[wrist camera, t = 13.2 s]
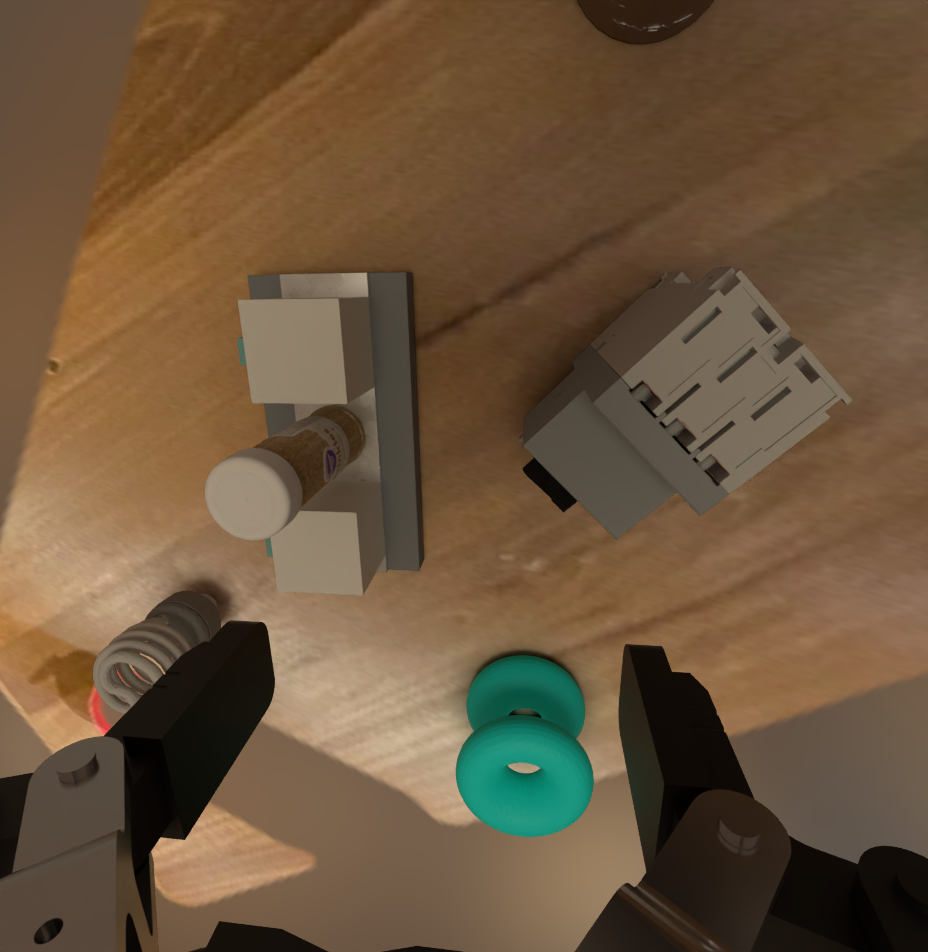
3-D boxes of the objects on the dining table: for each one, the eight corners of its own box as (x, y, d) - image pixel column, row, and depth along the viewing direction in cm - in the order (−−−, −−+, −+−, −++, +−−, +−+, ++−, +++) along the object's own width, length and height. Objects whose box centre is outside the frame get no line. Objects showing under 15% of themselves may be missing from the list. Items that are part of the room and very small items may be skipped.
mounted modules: (270, 298, 38) (224, 299, 32) (368, 296, 37) (338, 298, 31) (301, 551, 44) (266, 590, 38) (385, 555, 43) (363, 595, 37)
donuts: (560, 720, 37) (617, 827, 39) (555, 632, 46) (601, 723, 49) (429, 760, 39) (490, 859, 42) (449, 669, 49) (498, 754, 51)
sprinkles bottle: (374, 457, 41) (301, 534, 28) (317, 470, 41) (221, 551, 29) (354, 396, 39) (268, 448, 27) (296, 411, 40) (186, 469, 28)
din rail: (282, 274, 38) (279, 274, 37) (369, 272, 37) (366, 272, 36) (315, 566, 45) (312, 569, 44) (388, 569, 44) (386, 572, 44)
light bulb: (250, 621, 50) (166, 719, 38) (196, 633, 51) (100, 732, 40) (223, 565, 48) (128, 651, 37) (169, 580, 49) (60, 667, 38)
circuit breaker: (508, 420, 41) (495, 490, 27) (664, 273, 37) (745, 264, 23) (578, 490, 42) (599, 592, 28) (737, 355, 38) (858, 396, 24)
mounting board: (261, 275, 40) (247, 275, 38) (412, 272, 39) (405, 272, 37) (295, 553, 47) (285, 564, 45) (424, 559, 46) (419, 570, 44)
